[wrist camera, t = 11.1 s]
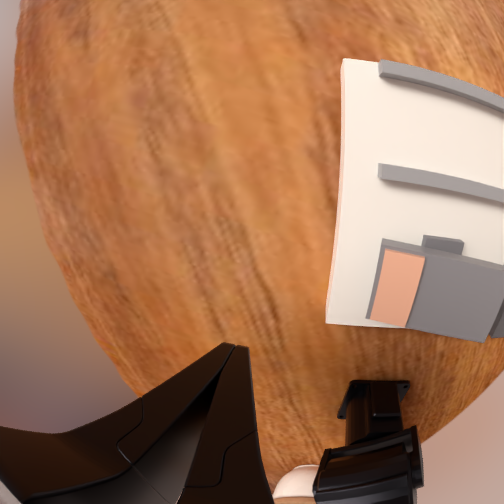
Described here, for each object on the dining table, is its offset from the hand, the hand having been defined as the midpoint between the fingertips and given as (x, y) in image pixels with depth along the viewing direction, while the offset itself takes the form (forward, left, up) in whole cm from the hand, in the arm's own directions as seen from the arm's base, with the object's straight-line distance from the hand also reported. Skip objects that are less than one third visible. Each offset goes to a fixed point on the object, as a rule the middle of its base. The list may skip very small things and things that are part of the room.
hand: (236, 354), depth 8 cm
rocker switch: (-1, -11, -8) cm, 13 cm away
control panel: (+3, -15, -12) cm, 19 cm away
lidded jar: (-39, -8, -12) cm, 41 cm away
